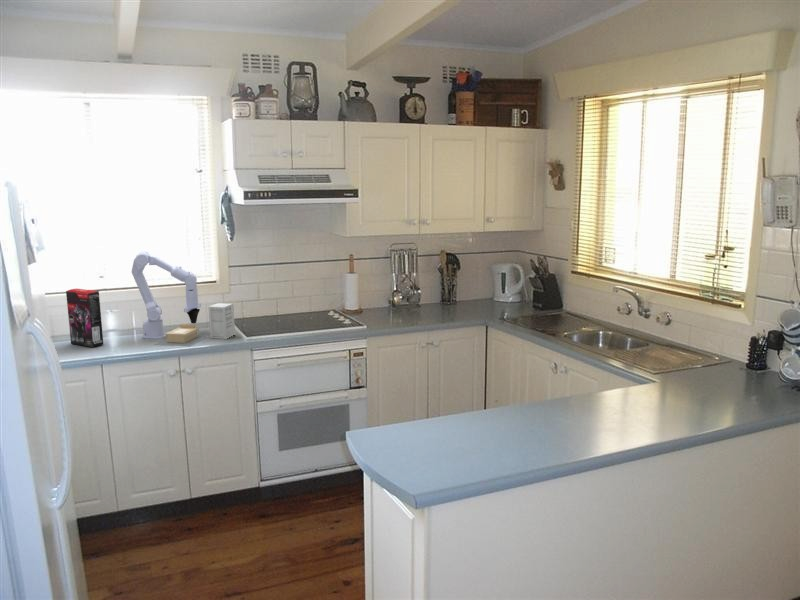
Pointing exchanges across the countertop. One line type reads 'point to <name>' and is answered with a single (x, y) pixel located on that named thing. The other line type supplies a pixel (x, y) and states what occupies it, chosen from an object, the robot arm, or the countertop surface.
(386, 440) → the countertop surface
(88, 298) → the graphics card box
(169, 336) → the kraft box
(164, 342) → the slate mat
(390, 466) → the countertop surface
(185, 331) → the kraft lid
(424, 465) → the countertop surface
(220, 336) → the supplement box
